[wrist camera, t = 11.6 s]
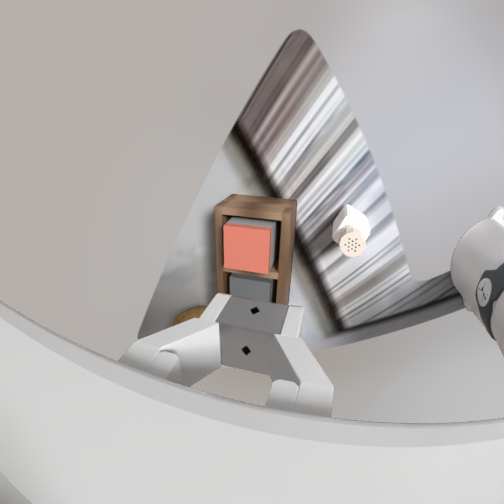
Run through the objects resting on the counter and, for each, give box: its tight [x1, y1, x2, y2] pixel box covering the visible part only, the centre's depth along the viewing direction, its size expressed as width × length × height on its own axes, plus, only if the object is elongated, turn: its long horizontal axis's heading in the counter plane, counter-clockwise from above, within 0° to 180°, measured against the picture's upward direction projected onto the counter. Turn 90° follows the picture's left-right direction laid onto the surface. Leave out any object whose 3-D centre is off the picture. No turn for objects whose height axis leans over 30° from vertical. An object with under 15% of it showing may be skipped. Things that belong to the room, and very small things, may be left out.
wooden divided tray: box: [215, 194, 297, 305], centre depth 45 cm, size 10×18×7 cm, turn 178°
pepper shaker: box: [332, 204, 370, 257], centre depth 37 cm, size 4×4×10 cm
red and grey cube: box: [223, 216, 279, 274], centre depth 41 cm, size 6×6×6 cm
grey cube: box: [230, 272, 278, 303], centre depth 46 cm, size 6×6×6 cm
